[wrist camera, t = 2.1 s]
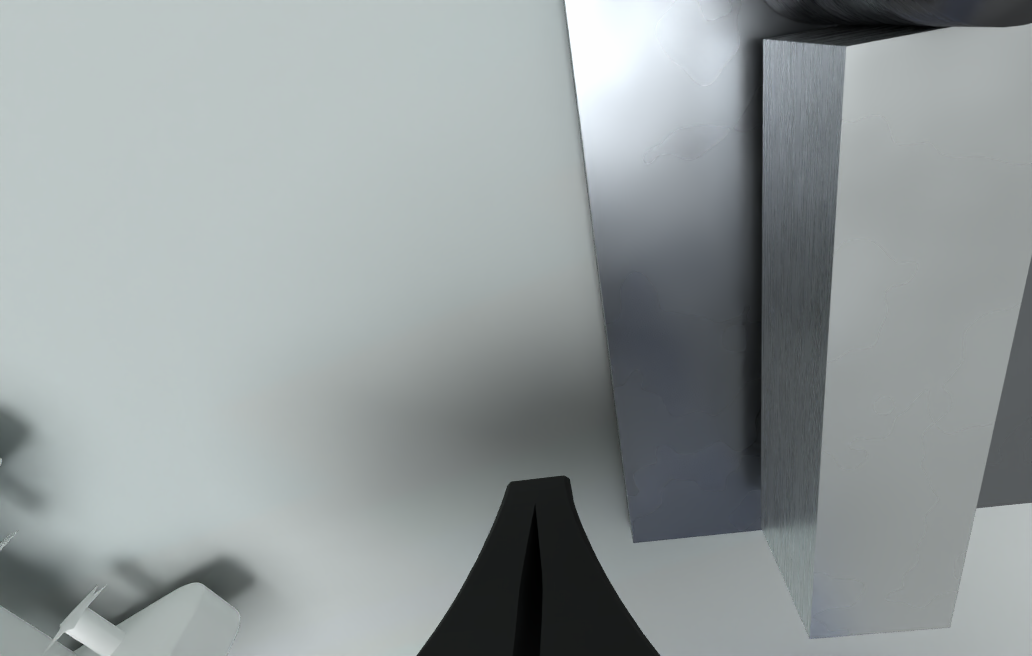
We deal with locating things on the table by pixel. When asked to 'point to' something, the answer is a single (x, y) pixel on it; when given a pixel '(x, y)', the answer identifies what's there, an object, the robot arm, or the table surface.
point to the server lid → (703, 259)
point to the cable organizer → (133, 628)
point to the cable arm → (888, 294)
